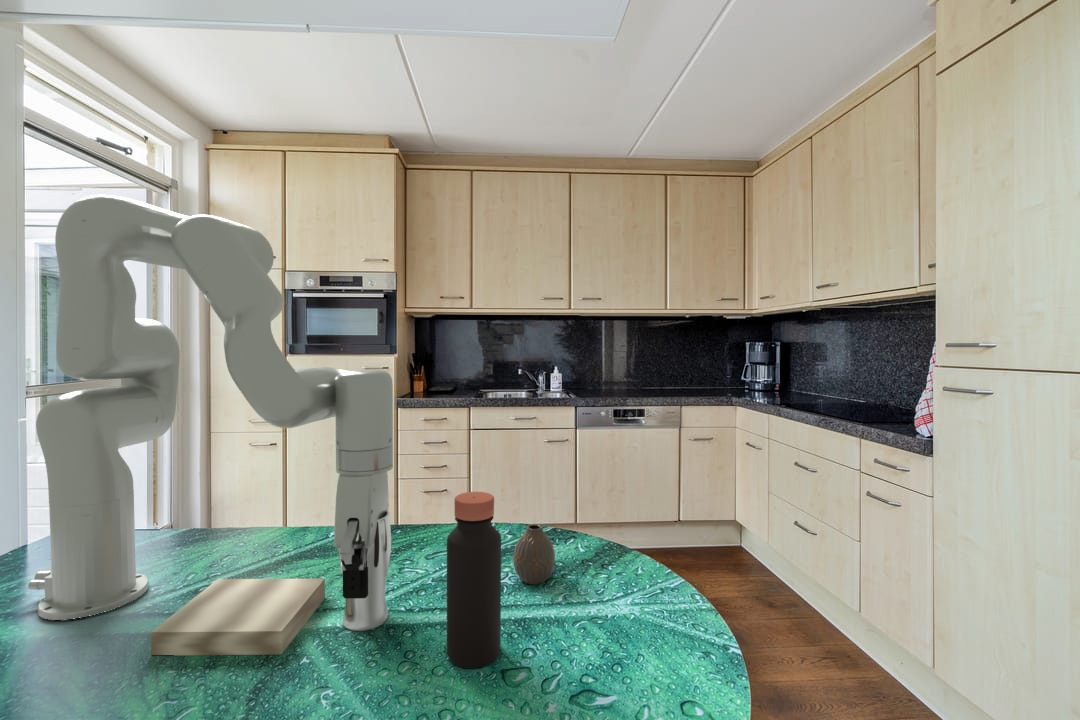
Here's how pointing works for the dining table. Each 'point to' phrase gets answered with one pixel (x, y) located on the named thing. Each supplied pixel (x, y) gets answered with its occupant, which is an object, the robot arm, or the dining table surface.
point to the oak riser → (240, 618)
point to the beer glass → (371, 582)
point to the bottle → (473, 583)
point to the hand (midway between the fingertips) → (365, 581)
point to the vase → (534, 555)
